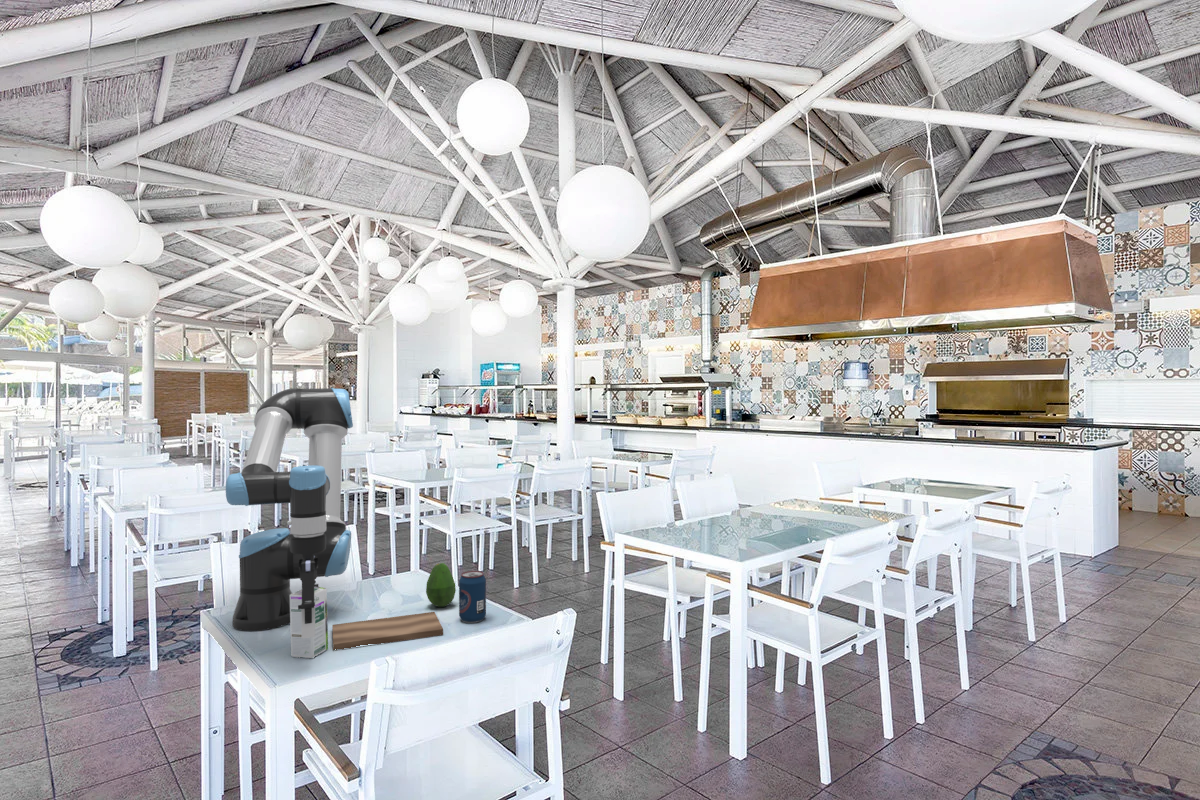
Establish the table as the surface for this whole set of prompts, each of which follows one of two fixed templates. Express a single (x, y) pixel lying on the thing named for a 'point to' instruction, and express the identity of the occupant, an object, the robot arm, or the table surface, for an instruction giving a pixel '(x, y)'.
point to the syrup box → (320, 641)
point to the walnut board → (386, 630)
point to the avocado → (440, 586)
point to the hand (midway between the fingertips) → (309, 627)
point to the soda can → (472, 596)
